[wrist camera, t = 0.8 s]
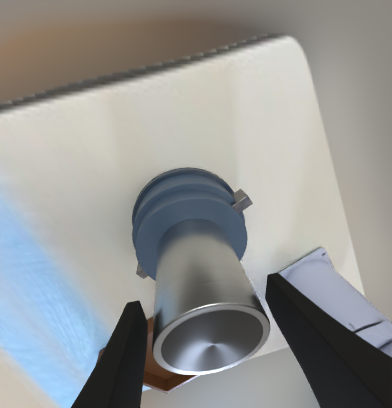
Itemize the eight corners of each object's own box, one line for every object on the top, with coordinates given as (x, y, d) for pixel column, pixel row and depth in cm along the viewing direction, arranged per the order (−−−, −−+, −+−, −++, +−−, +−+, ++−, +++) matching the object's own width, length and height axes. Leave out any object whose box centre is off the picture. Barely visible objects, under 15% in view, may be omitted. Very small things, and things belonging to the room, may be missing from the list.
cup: (240, 250, 16) (288, 338, 10) (187, 284, 17) (200, 386, 10) (202, 204, 13) (234, 283, 7) (142, 247, 14) (123, 351, 8)
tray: (225, 345, 32) (229, 359, 30) (166, 379, 34) (166, 393, 32) (168, 306, 25) (169, 321, 23) (99, 350, 27) (95, 367, 25)
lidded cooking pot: (258, 219, 21) (283, 247, 16) (175, 275, 23) (177, 314, 18) (204, 138, 16) (219, 147, 12) (104, 217, 18) (84, 250, 14)
